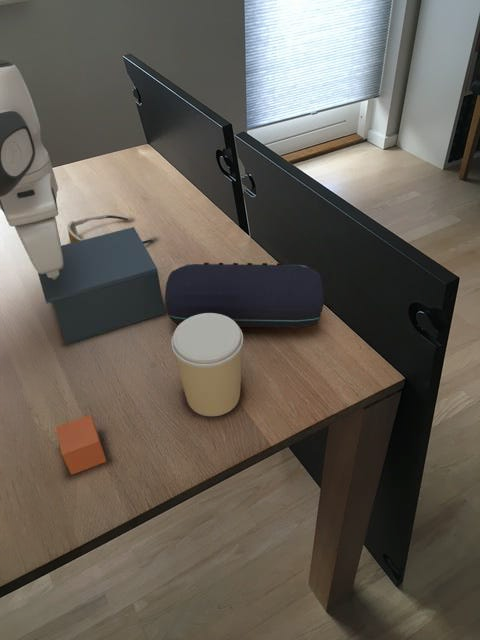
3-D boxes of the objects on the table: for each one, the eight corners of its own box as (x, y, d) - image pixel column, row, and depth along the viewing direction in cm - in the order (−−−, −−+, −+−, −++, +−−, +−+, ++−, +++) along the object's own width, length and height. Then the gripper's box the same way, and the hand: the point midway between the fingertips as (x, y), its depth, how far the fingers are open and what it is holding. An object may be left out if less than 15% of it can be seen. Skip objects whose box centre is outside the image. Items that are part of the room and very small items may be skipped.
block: (71, 475, 68) (61, 454, 65) (64, 447, 72) (55, 426, 69) (106, 461, 70) (99, 440, 67) (98, 435, 73) (91, 414, 70)
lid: (46, 303, 80) (37, 278, 77) (33, 256, 90) (25, 232, 87) (157, 272, 85) (153, 246, 82) (134, 230, 95) (129, 206, 91)
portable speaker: (320, 300, 92) (324, 252, 86) (323, 340, 85) (327, 291, 78) (175, 298, 94) (168, 251, 87) (166, 338, 87) (157, 289, 80)
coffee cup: (254, 379, 79) (252, 318, 71) (233, 428, 73) (228, 368, 65) (195, 365, 82) (187, 305, 74) (170, 412, 75) (158, 352, 67)
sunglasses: (59, 241, 109) (55, 218, 106) (126, 224, 117) (125, 203, 114) (88, 273, 100) (86, 250, 97) (159, 253, 108) (159, 231, 105)
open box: (67, 344, 86) (52, 302, 81) (52, 296, 96) (38, 255, 90) (165, 313, 91) (157, 272, 85) (142, 271, 101) (134, 230, 95)
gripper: (-8, 158, 81) (20, 236, 90) (7, 222, 67) (39, 307, 76) (35, 150, 83) (58, 227, 92) (58, 210, 69) (83, 294, 78)
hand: (50, 263), depth 84 cm, fingers closed on lid, 5 cm apart
